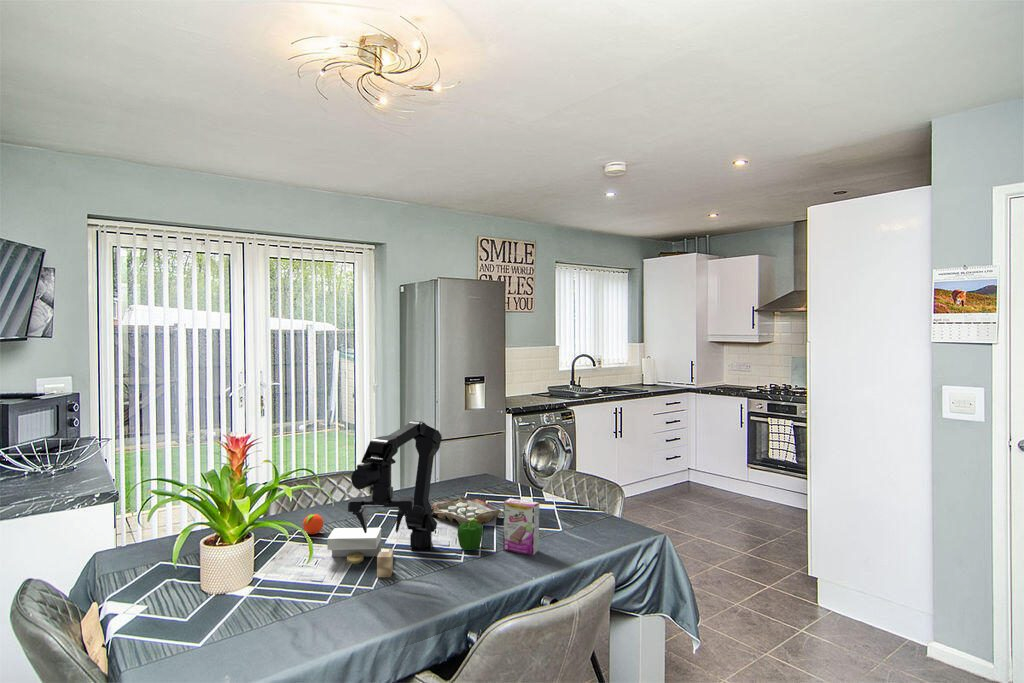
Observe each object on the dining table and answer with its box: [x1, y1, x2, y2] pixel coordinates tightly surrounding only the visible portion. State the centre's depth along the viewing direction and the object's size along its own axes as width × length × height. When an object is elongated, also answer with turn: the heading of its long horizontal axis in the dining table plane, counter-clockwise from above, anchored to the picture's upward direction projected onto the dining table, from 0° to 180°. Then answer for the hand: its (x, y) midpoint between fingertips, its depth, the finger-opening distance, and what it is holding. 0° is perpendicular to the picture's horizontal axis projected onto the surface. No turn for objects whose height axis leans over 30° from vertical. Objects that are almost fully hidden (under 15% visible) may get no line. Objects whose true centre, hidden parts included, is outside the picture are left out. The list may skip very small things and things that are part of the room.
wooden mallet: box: [376, 548, 394, 578], centre depth 174 cm, size 4×15×6 cm, turn 3°
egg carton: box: [430, 496, 504, 525], centre depth 221 cm, size 30×22×5 cm
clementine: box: [302, 513, 324, 535], centre depth 201 cm, size 8×7×7 cm
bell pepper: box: [457, 519, 484, 551], centre depth 190 cm, size 8×8×10 cm
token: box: [346, 552, 364, 565], centre depth 179 cm, size 5×5×2 cm
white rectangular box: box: [326, 527, 382, 558], centre depth 181 cm, size 15×9×8 cm, turn 94°
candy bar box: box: [502, 497, 540, 556], centre depth 187 cm, size 11×5×16 cm, turn 65°
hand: (381, 532), depth 170 cm, fingers open, 9 cm apart
